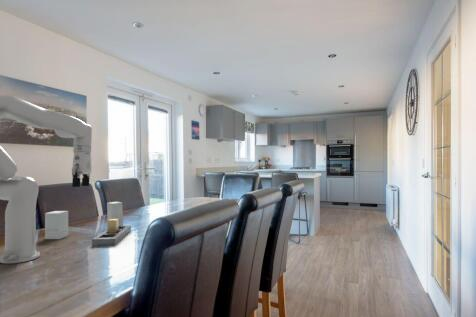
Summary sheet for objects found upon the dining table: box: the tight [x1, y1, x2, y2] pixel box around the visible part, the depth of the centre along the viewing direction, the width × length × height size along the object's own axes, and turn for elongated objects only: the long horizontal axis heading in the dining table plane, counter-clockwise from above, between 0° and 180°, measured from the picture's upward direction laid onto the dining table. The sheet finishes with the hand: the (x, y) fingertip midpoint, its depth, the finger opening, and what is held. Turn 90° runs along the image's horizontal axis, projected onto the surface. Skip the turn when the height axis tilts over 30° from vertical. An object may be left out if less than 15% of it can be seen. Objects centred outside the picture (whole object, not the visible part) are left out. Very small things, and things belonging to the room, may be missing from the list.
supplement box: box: [44, 210, 69, 240], centre depth 148 cm, size 7×7×13 cm
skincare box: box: [106, 201, 124, 226], centre depth 166 cm, size 8×6×15 cm
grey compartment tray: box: [91, 225, 132, 247], centre depth 146 cm, size 28×10×3 cm, turn 6°
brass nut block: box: [106, 219, 119, 233], centre depth 146 cm, size 4×4×9 cm
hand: (81, 186), depth 141 cm, fingers open, 9 cm apart
